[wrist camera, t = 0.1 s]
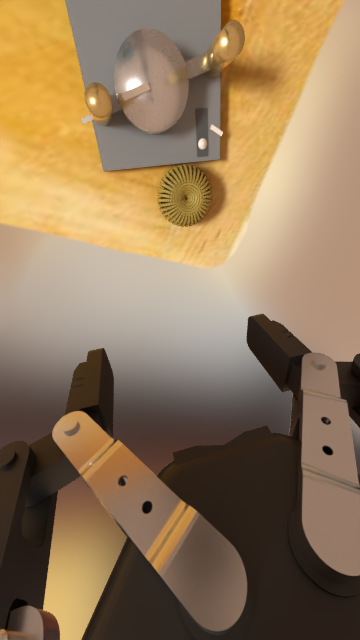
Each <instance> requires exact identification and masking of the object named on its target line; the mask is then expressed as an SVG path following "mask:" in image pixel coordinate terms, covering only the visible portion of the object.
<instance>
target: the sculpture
mask: <svg viewBox="0 0 360 640" xmlns="http://www.w3.org/2000/svg"><path fill="white" fill-rule="evenodd" d="M183 169H184V171H183ZM188 169H189V170H188ZM192 169H193V172H192ZM172 170H173V171H172ZM172 170H171V169H170V170H169V171H168V173H169V174H168V173H166V174H165V177H166V179H165V178H164V177H163V178H162V181H163V182H165V184H166V185H165V184H163V183H161V182H160V184H159V185H161V186H163V187H164V188H166V189H168V190H169V191H168V190H165V189H162V188H159V187H158V190H160V191H162V192H165V193H157V195H158V196H161V197H159V198H157V199H158V201H160V202H159V203H158V205H159V206H160V210H161V211H163V212H162V214H163V216H164V215H165V218H166V219H168V221H169V222H172V224H174V225H177V226H181V227H184V226H185V227H186V226H187V227H188V226H192V225H193V224H196V223H197V222H199V221H200V218H201V219H203V218H204V217H203V215H206V212H205V211H204V210H206V211H208V210H209V209H208V208H206V207H205V206H203V205H206V206H209V207H210V204H208V203H205V202H211V201H212V199H208V198H210V197H212V194H209V193H211V192H212V189H210V187H211V186H210V183H209V180H208V179H206V178H207V176H206V175H205V174H204V173H203V171H200V169H199V168H196V167H195V166H193V165H192V166H191V165H185V164H184V165H178V166H177V168H176V167H173V168H172ZM179 170H180V172H179ZM175 172H176V173H177V176H176V173H175ZM195 172H197V173H195ZM200 174H201V175H200ZM172 175H173V176H172ZM199 175H200V177H199ZM185 176H186V178H185ZM173 177H174V178H173ZM182 177H183V180H182ZM198 177H199V178H198ZM202 178H203V180H202ZM174 179H175V180H174ZM201 180H202V181H201ZM172 182H173V183H174V184H173V183H172ZM204 182H205V183H204ZM203 183H204V184H203ZM202 184H203V185H202ZM205 187H206V188H205ZM173 188H174V189H173ZM203 188H204V189H203ZM205 191H206V192H205ZM202 192H203V193H202ZM202 201H203V202H202ZM165 202H168V203H165ZM170 202H171V203H170ZM163 203H164V204H163ZM201 204H202V205H201ZM165 206H167V207H166V208H164V207H165ZM172 208H173V209H172ZM203 209H204V210H203ZM167 210H168V211H167ZM166 211H167V212H166ZM173 212H174V213H173ZM193 212H194V213H193ZM201 213H202V214H203V215H202V214H201ZM168 214H170V215H169V216H168ZM195 214H196V215H195ZM178 215H179V216H178ZM184 216H185V218H184ZM171 217H172V219H171ZM193 218H194V220H193ZM175 219H176V221H174V220H175ZM190 220H191V221H190ZM182 221H183V224H182ZM186 221H187V223H186ZM178 222H179V223H178Z"/></svg>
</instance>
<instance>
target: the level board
mask: <svg viewBox="0 0 360 640" xmlns="http://www.w3.org/2000/svg"><path fill="white" fill-rule="evenodd" d="M65 2H66V6H67V10H68V15H69V19H70V24H71V28H72V33H73V37H74V42H75V46H76V50H77V55H78V59H79V64H80V68H81V73H82V77H83V82H84V86H85V90H86V88H87V86H88V85H89V84H90V83H93V82H97V83H100V84H102V85H103V86H104V87H105V88H106V89H107V90H108V92H109V94H110V95H112V94H115V83H114V69H115V62H116V57H117V54H118V51H119V49H120V47H121V45H122V43H123V42H124V40H125V39H126V38H127V37H128V36H129V35H130V34H131V33H133V32H135V31H137V30H140V29H145V28H150V29H155V30H158V31H160V32H162V33H164V34H165V35H167V36H168V37H169V38H170V39H171V40H172V41H173V42H174V43H175V45H176V46H177V47H178V49H179V51H180V53H181V54H182V56H183V59H184V62H186V61H188V60H191V59H193V58H195V57H197V56H199V55H202V54H204V53H205V51H206V50H207V49H208V47H209V46H210V45H211V43H212V42H213V41H214V39H215V38H216V37H217V35H218V34H219V33H220V31H221V0H65ZM220 73H221V72H220ZM220 73H219V74H218V75H217V76H215V77H213V78H210V77H208V76H206V75H205V74H204V75H201V76H199V77H197V78H195V79H192V80H190V81H189V91H188V99H187V103H186V106H185V109H184V111H183V113H182V115H181V117H180V118H179V120H178V121H177V122H176V123H175V124H174V125H173V126H172V127H170V128H169V129H168V130H166V131H165V132H163V133H160V134H146V133H143V132H141V131H139V130H137V129H136V128H135V127H133V126H132V125H131V124H130V123H129V122H128V120H127V119H126V118H125V116H124V115H123V113H122V111H121V112H119V113H116V114H114V115H112V119H111V122H110V123H109V124H108V125H106V126H101V125H99V124H97V123H96V122H95V121H94V120H93V118H92V116H91V115H88V116H86V117H84V118H82V119H81V120H82V122H83V124H85V123H87V122H90V121H92V122H93V126H94V130H95V135H96V139H97V144H98V148H99V153H100V157H101V161H102V166H103V170H104V171H112V170H122V169H131V168H141V167H151V166H160V165H170V164H180V163H189V162H199V161H209V160H218V159H220V136H222V134H223V132H222V131H221V130H220Z"/></svg>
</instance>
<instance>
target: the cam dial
mask: <svg viewBox="0 0 360 640" xmlns="http://www.w3.org/2000/svg"><path fill="white" fill-rule="evenodd" d="M244 41H245V34H244V30H243V27H242V25H241V24H240V23H239V22H238V21H236V20H231V21H229V22H228V23H227V24H226V25H225V26H224V27H223V29H222V30H221V31H220V33H219V34H218V35H217V37H216V38H215V39H214V41H213V42H212V43H211V45H210V46H209V47H208V49H207V50H206V51H205V53H204V54H202V55H199V56H197V57H195V58H193V59H191V60H188V61H186V62H184V59H183V56H182V54H181V53H180V51H179V49H178V47H177V46H176V45H175V43H174V42H173V41H172V40H171V39H170V38H169V37H168V36H167V35H165V34H164V33H162V32H160V31H158V30H155V29H150V28H145V29H140V30H137V31H135V32H133V33H131V34H130V35H129V36H128V37H127V38H126V39H125V40H124V42H123V43H122V45H121V47H120V49H119V51H118V54H117V57H116V62H115V69H114V83H115V94H112V95H110V94H109V92H108V90H107V89H106V88H105V87H104V86H103V85H102V84H100V83H97V82H93V83H90V84H89V85H88V86H87V88H86V90H85V101H86V104H87V107H88V109H89V111H90V113H91V116H92V118H93V120H94V121H95V122H96V123H97V124H99V125H101V126H106V125H108V124H109V123H110V122H111V119H112V115H114V114H116V113H119V112H121V111H122V113H123V115H124V116H125V118H126V119H127V120H128V122H129V123H130V124H131V125H132V126H133V127H135V128H136V129H137V130H139V131H141V132H143V133H146V134H160V133H163V132H165V131H166V130H168V129H169V128H170V127H172V126H173V125H174V124H175V123H176V122H177V121H178V120H179V118H180V117H181V115H182V113H183V111H184V109H185V106H186V103H187V99H188V91H189V81H190V80H192V79H195V78H197V77H199V76H201V75H204V74H205V75H206V76H208V77H210V78H213V77H215V76H217V75H218V74H219V73H220V72H221V71H222V70H223V69H224V68H225V67H226V66H227V65H228V64H229V63H230V62H231V61H233V60H234V59H235V58H236V57H237V56H238V55H239V54H240V52H241V51H242V49H243V46H244Z"/></svg>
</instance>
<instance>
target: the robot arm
mask: <svg viewBox="0 0 360 640" xmlns="http://www.w3.org/2000/svg"><path fill="white" fill-rule="evenodd" d="M247 344H248V346H249V348H250V350H251V351H252V352H253V354H254V355H255V356H256V358H257V359H258V360H259V362H260V363H261V364H262V366H263V367H264V368H265V370H266V371H267V372H268V374H269V375H270V376H271V378H272V379H273V380H274V382H275V383H276V384H277V386H278V387H279V389H280V390H281V391H282V392H284V391H289V390H291V391H292V392H293V397H292V408H291V421H290V431H289V436H287V435H283V434H279V433H271V432H270V430H269V428H268V427H267V426H264V427H261V428H257V429H254V430H250V431H247V432H244V433H242V434H241V435H239V436H238V437H236V438H235V439H233V440H231V441H230V442H228V443H227V444H225V445H214V446H213V445H212V446H194V447H191V448H187V449H184V450H180V451H177V452H174V453H173V456H174V461H172V462H171V463H169V464H168V465H167V466H166V467H164V469H162V470H161V472H160V473H159V474H158V475H157V476H156V475H155V474H154V473H153V472H152V471H151V470H150V469H148V468H147V467H146V466H145V465H144V464H143V463H142V462H141V461H140V460H139V459H138V458H137V457H136V456H135V455H134V454H133V453H132V452H131V451H129V449H127V448H126V447H125V446H124V445H123V444H122V443H121V442H120V441H119V440H113V439H112V438H111V437H113V409H114V406H113V405H114V404H113V403H114V377H113V371H112V368H111V365H110V363H109V360H108V357H107V354H106V352H105V350H104V348H102V349H96V350H92V351H89V352H88V356H87V362H83V363H80V364H79V365H78V366H77V368H76V369H75V371H74V374H73V379H72V383H71V389H70V393H69V398H68V402H67V408H66V412H65V416H64V417H62V418H61V419H60V420H59V421H58V422H57V424H56V425H55V427H54V429H53V432H52V433H50V434H49V435H47V436H45V437H43V438H42V439H40V440H38V441H36V442H34V443H32V444H30V445H28V444H27V443H26V442H24V441H15V442H12V443H9V444H8V445H6V446H4V447H3V448H1V449H0V640H60V631H59V625H58V622H57V620H56V618H55V616H54V615H53V614H51V613H50V612H47V611H44V610H43V604H44V596H45V588H46V580H47V572H48V564H49V557H50V548H51V541H52V533H53V525H54V516H55V509H56V501H57V494H58V490H60V489H61V488H63V487H64V486H66V485H67V484H69V483H70V482H72V481H74V480H75V479H77V478H78V477H81V478H82V479H83V480H84V482H85V483H86V484H87V486H88V487H89V488H90V489H91V491H92V492H93V493H94V495H95V496H96V497H97V499H98V500H99V501H100V502H101V504H102V505H103V506H104V508H105V509H106V510H107V512H108V513H109V514H110V516H111V517H112V518H113V520H114V521H115V522H116V524H118V526H119V527H120V529H121V530H122V531H123V533H124V534H125V535H126V536H127V539H126V542H125V544H124V546H123V548H122V550H121V553H120V555H119V557H118V560H117V562H116V564H115V566H114V568H113V571H112V573H111V575H110V577H109V579H108V582H107V584H106V586H105V588H104V591H103V593H102V595H101V597H100V599H99V602H98V604H97V606H96V608H95V611H94V613H93V615H92V617H91V619H90V622H89V624H88V626H87V628H86V630H85V633H84V635H83V637H82V640H360V475H359V474H357V468H356V460H355V453H354V446H353V441H352V440H353V439H352V433H351V426H350V419H349V416H350V417H351V418H352V419H353V420H354V422H355V423H356V424H357V425H358V426H359V428H360V354H357V355H356V356H355V357H354V360H353V362H335V361H334V360H333V359H331V358H330V357H328V356H326V355H324V354H321V353H312V352H311V351H310V350H309V349H308V348H307V347H306V346H305V345H304V344H303V343H301V342H300V341H299V340H298V339H297V338H296V337H295V336H293V334H292V333H291V332H289V331H288V329H286V328H285V327H284V326H283V325H282V324H280V323H278V322H276V321H270V320H269V319H268V318H267V317H266V316H265V315H264V314H259V315H255V316H250V317H249V318H248V329H247Z"/></svg>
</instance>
